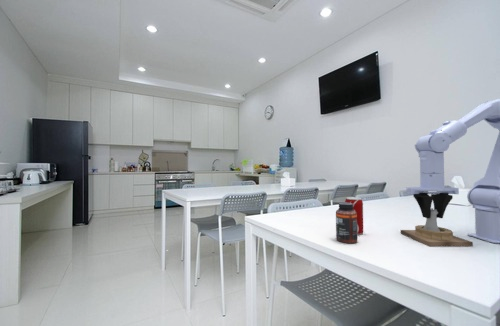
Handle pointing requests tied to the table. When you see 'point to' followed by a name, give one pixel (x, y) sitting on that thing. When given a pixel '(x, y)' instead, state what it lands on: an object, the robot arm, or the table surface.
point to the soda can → (359, 210)
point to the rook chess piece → (432, 221)
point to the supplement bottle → (346, 223)
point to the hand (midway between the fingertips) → (432, 217)
